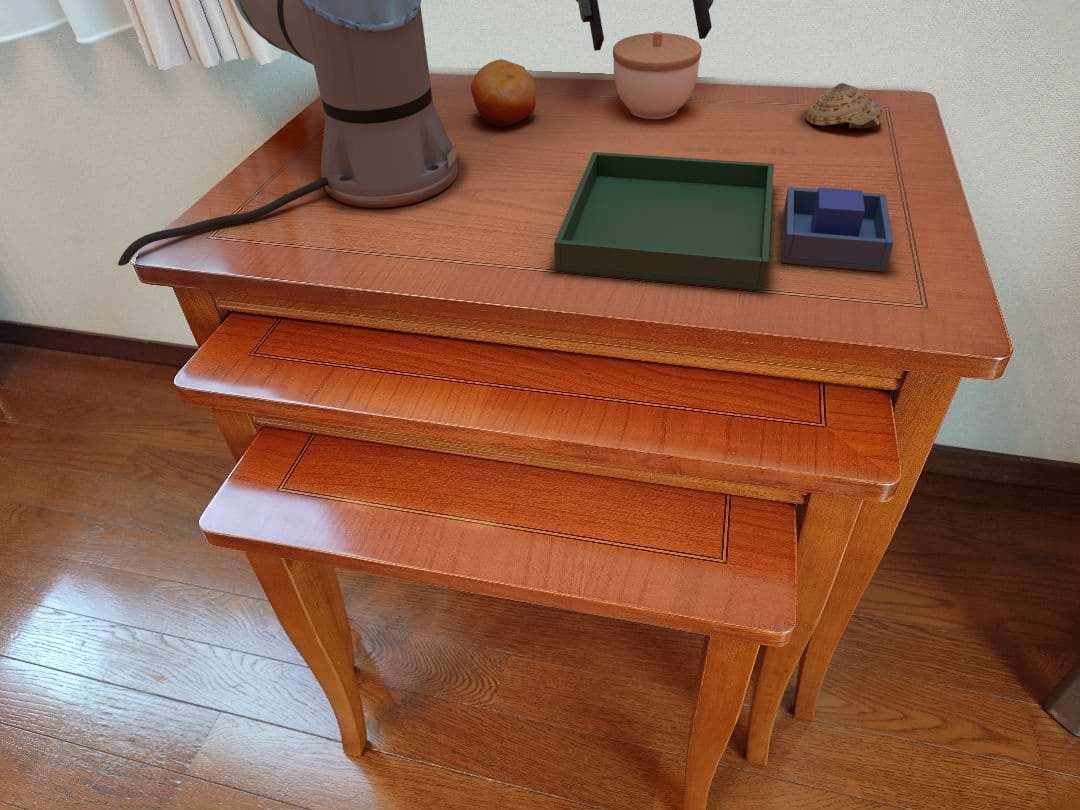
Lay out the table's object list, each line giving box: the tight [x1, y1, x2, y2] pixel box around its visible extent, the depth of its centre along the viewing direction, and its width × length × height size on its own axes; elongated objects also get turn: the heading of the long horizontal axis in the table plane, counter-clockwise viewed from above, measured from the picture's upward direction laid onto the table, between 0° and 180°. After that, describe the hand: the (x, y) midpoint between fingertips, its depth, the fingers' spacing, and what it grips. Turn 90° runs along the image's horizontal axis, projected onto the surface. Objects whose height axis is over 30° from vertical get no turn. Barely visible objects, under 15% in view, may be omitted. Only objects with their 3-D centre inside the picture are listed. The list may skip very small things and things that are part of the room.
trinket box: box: [612, 31, 703, 120], centre depth 100 cm, size 11×11×9 cm
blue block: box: [811, 187, 865, 237], centre depth 76 cm, size 4×4×4 cm
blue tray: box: [781, 186, 894, 273], centre depth 76 cm, size 9×9×3 cm
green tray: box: [553, 151, 775, 292], centre depth 80 cm, size 19×19×3 cm
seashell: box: [805, 82, 884, 129], centre depth 97 cm, size 8×6×8 cm
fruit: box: [470, 58, 537, 128], centre depth 100 cm, size 8×8×8 cm
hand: (652, 39), depth 99 cm, fingers open, 13 cm apart
